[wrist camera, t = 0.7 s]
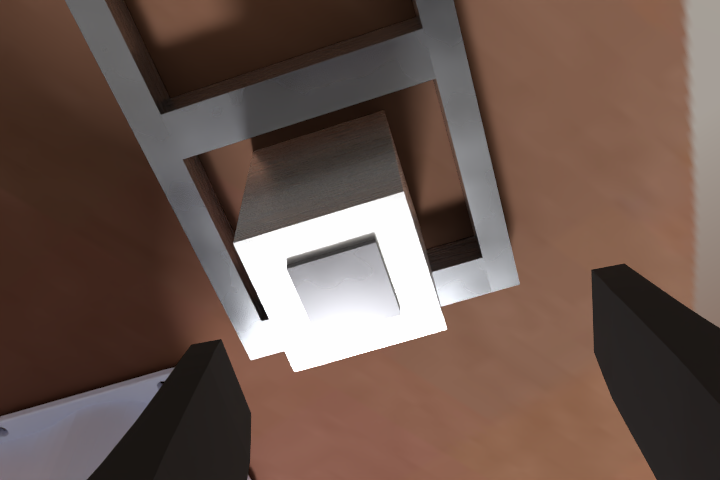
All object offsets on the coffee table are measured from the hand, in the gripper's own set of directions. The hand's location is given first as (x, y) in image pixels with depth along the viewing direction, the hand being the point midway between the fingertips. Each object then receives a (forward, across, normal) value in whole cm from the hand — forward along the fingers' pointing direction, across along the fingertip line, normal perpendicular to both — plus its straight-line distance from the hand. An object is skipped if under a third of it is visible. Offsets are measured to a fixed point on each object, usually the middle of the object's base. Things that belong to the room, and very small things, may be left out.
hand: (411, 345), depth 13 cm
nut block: (+11, +2, +2) cm, 11 cm away
